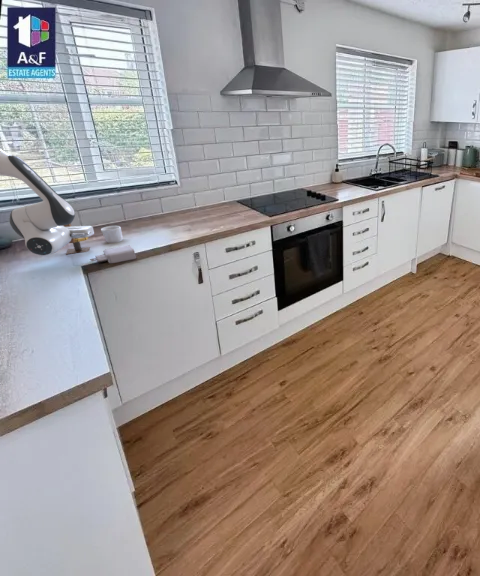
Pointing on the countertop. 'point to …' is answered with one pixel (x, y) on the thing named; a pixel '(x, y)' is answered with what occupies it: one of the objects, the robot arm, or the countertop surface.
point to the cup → (112, 234)
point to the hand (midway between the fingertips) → (69, 228)
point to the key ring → (74, 238)
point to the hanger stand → (77, 248)
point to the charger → (116, 254)
